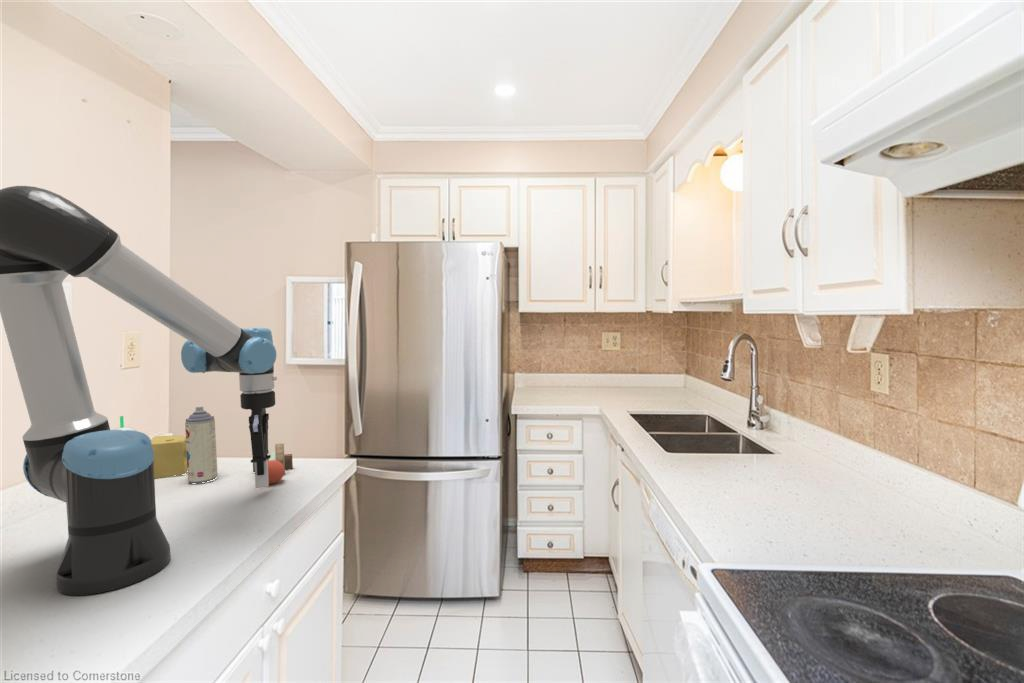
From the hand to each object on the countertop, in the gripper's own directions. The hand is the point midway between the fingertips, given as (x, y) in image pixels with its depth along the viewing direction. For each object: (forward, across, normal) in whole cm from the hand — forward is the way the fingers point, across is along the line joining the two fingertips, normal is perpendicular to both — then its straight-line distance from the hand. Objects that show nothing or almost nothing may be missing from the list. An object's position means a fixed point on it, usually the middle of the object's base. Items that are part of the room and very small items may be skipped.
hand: (262, 486), depth 121 cm
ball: (-1, +8, -1) cm, 9 cm away
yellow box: (+2, +31, +28) cm, 42 cm away
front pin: (+1, +13, 0) cm, 13 cm away
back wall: (+2, +21, 0) cm, 21 cm away
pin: (+2, +16, -2) cm, 16 cm away
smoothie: (+2, +12, +32) cm, 34 cm away
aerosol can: (+2, +19, +17) cm, 26 cm away
